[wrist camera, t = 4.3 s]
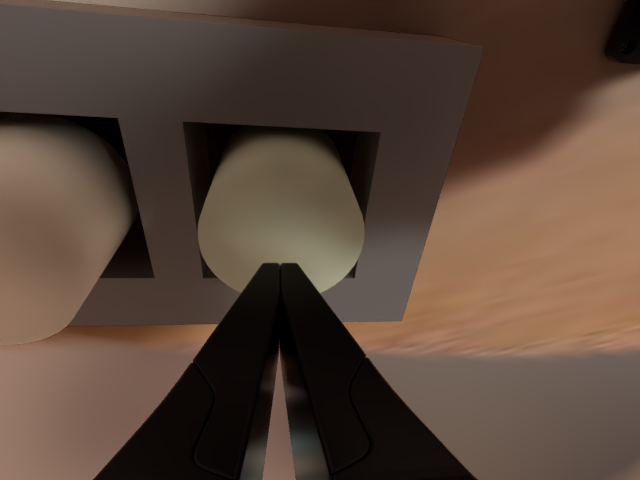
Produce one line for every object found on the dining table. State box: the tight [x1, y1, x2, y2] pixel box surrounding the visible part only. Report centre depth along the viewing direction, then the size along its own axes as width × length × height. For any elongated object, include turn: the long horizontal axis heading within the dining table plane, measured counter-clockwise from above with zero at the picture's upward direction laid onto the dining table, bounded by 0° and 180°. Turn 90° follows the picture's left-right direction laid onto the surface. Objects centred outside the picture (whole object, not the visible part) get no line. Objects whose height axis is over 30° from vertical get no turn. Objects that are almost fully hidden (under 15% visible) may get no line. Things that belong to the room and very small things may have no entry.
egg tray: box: [0, 0, 485, 326], centre depth 12 cm, size 24×10×3 cm, turn 85°
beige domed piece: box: [0, 114, 139, 345], centre depth 10 cm, size 5×5×4 cm
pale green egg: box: [198, 125, 365, 293], centre depth 12 cm, size 5×5×4 cm
